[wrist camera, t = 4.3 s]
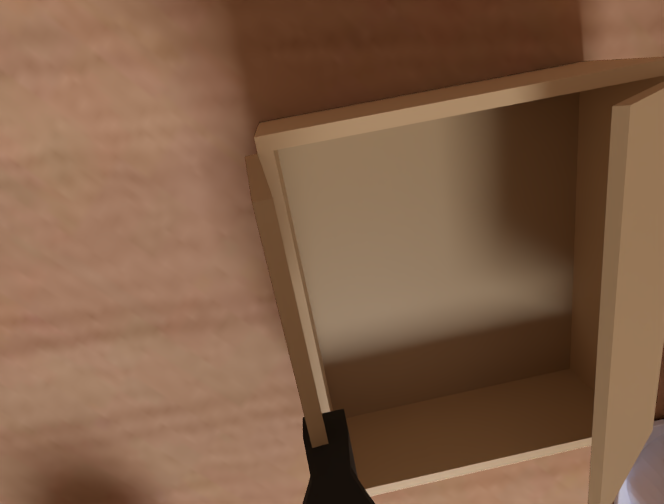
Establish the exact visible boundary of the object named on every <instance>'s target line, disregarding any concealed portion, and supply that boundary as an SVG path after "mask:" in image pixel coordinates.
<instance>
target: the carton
mask: <svg viewBox="0 0 664 504" xmlns="http://www.w3.org/2000/svg"><path fill="white" fill-rule="evenodd" d="M663 81H664V57H651V58H633V59H615V60H597V61H583V62H578V63H572V64H567V65H562V66H556V67H551V68H546V69H541V70H535V71H530V72H525V73H519V74H514V75H509V76H503V77H498V78H493V79H488V80H482V81H477V82H472V83H466V84H461V85H456V86H450V87H445V88H440V89H435V90H429V91H424V92H419V93H413V94H408V95H403V96H397V97H392V98H387V99H382V100H376V101H371V102H366V103H360V104H355V105H350V106H344V107H339V108H334V109H329V110H323V111H318V112H313V113H307V114H302V115H297V116H292V117H286V118H281V119H276V120H270V121H265V122H260V123H259V125H258V127H257V130H256V133H255V135H254V140H255V145H256V149H257V153H258V157H259V160H260V162H261V165H262V168H263V171H264V174H265V177H266V180H267V183H268V185H269V188H270V191H271V194H272V197H273V201H274V205H275V210H276V214H277V218H278V223H279V227H280V232H281V236H282V240H283V245H284V249H285V254H286V258H287V262H288V267H289V271H290V276H291V280H292V284H293V289H294V293H295V298H296V302H297V307H298V311H299V315H300V320H301V324H302V329H303V333H304V337H305V342H306V346H307V351H308V355H309V359H310V364H311V368H312V373H313V377H314V381H315V386H316V390H317V395H318V399H319V403H320V408H321V412H322V413H326V412H331V411H335V410H340V409H344V412H345V417H346V421H347V426H348V431H349V436H350V441H351V446H352V451H353V456H354V461H355V466H356V471H357V476H358V479H359V481H360V482H361V484H362V485H363V487H364V488H365V490H366V491H367V493H368V494H369V496H375V495H379V494H383V493H388V492H392V491H396V490H401V489H405V488H410V487H414V486H418V485H423V484H427V483H431V482H436V481H440V480H444V479H449V478H453V477H457V476H462V475H466V474H470V473H475V472H479V471H484V470H488V469H492V468H497V467H501V466H505V465H510V464H514V463H518V462H523V461H527V460H531V459H536V458H540V457H544V456H549V455H553V454H557V453H562V452H566V451H571V450H575V449H579V448H584V447H588V446H591V444H592V427H593V411H594V395H595V379H596V362H597V346H598V330H599V314H600V297H601V281H602V265H603V249H604V232H605V216H606V200H607V184H608V167H609V151H610V135H611V119H612V106H614V105H616V104H618V103H620V102H622V101H624V100H626V99H628V98H630V97H632V96H634V95H636V94H639V93H641V92H643V91H645V90H647V89H649V88H651V87H653V86H655V85H657V84H659V83H661V82H663Z"/></svg>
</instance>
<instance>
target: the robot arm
mask: <svg viewBox="0 0 664 504" xmlns="http://www.w3.org/2000/svg"><path fill="white" fill-rule="evenodd" d="M322 417H323V421H324V425H325V430H326V434H327V439H328V443H329V444H325V445H322V446H318V447H314V448H312V445H311V441H310V437H309V433H308V429H307V425H306V420H305V417H303V439H304V444H305V450H306V455H307V460H308V465H309V470H310V480H309V484H308V487H307V491H306V494H305V497H304V501H303V504H375V503H374V502H373V500H372V499H371V497H370V496H369V494H368V493H367V491H366V490H365V488H364V487H363V485H362V484H361V482H360V481H359V479H358V476H357V471H356V466H355V461H354V456H353V451H352V446H351V441H350V436H349V431H348V426H347V421H346V417H345V412H344V409H340V410H335V411H331V412H326V413H322ZM614 504H664V419H662V420H658V421H654V423H653V431H652V433H651V435H650V436H649V438H648V440H647V442H646V444H645V445H644V447H643V449H642V451H641V453H640V454H639V456H638V458H637V460H636V462H635V463H634V465H633V467H632V469H631V471H630V472H629V474H628V476H627V478H626V480H625V481H624V483H623V485H622V487H621V489H620V490H619V492H618V494H617V496H616V498H615V499H614Z"/></svg>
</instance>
